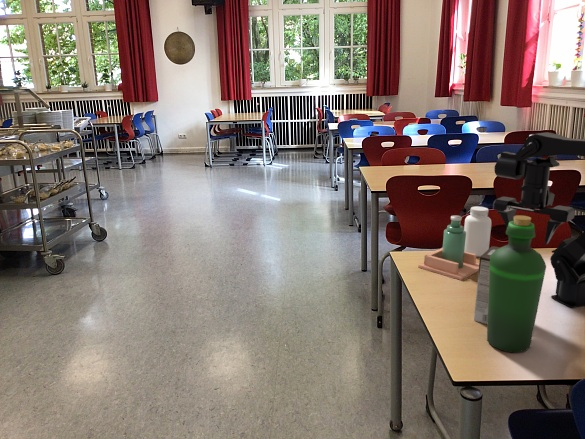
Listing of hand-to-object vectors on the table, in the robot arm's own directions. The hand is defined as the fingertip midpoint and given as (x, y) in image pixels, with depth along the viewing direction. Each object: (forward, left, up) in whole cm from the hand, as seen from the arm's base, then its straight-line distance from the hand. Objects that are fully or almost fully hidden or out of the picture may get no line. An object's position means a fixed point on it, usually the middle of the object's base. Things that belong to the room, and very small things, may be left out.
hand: (528, 240), depth 130 cm
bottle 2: (-24, +25, -13) cm, 37 cm away
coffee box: (-13, +20, -13) cm, 27 cm away
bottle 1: (+17, +10, -12) cm, 24 cm away
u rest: (+18, +10, -13) cm, 24 cm away
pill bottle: (+26, -4, -13) cm, 29 cm away
